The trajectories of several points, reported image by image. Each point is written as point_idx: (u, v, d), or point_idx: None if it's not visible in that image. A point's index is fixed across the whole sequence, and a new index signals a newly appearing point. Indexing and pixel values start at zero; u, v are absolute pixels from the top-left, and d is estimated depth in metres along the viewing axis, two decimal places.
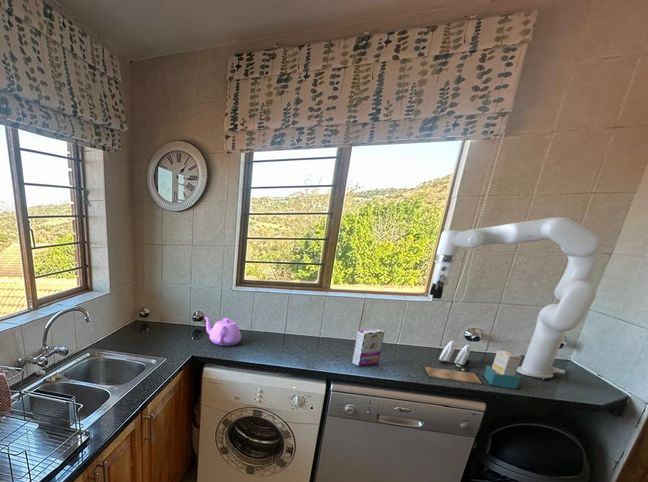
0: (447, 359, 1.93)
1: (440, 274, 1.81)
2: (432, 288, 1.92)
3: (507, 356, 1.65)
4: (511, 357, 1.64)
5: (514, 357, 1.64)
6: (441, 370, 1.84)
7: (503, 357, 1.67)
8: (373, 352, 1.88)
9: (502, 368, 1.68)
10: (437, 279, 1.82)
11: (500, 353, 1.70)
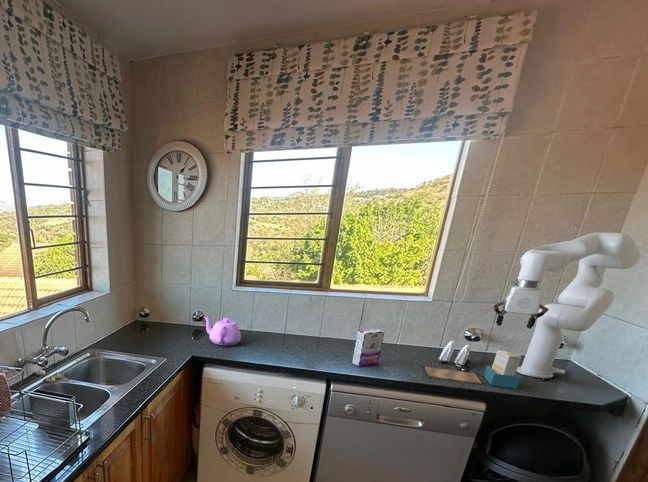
0: (447, 359, 1.93)
1: (506, 299, 1.64)
2: (529, 319, 1.63)
3: (507, 356, 1.65)
4: (511, 357, 1.64)
5: (514, 357, 1.64)
6: (441, 370, 1.84)
7: (503, 357, 1.67)
8: (373, 352, 1.88)
9: (502, 368, 1.68)
10: None
11: (500, 353, 1.70)
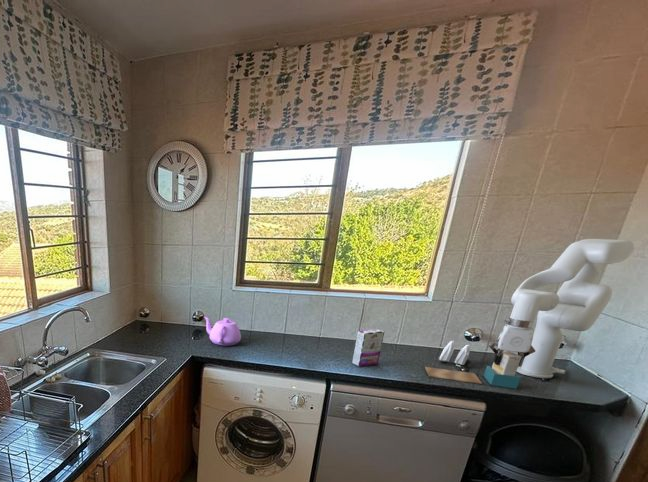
0: (447, 359, 1.93)
1: (499, 336, 1.68)
2: None
3: (507, 356, 1.65)
4: (511, 357, 1.64)
5: (514, 357, 1.64)
6: (441, 370, 1.84)
7: (503, 357, 1.67)
8: (373, 352, 1.88)
9: (502, 368, 1.68)
10: None
11: None
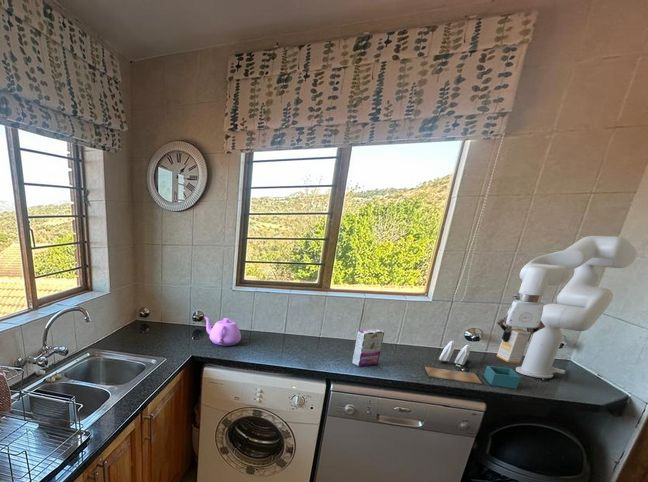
0: (447, 359, 1.93)
1: (507, 312, 1.64)
2: None
3: (516, 332, 1.62)
4: (520, 333, 1.61)
5: (523, 333, 1.61)
6: (441, 370, 1.84)
7: (512, 333, 1.64)
8: (373, 352, 1.88)
9: (511, 345, 1.64)
10: None
11: None
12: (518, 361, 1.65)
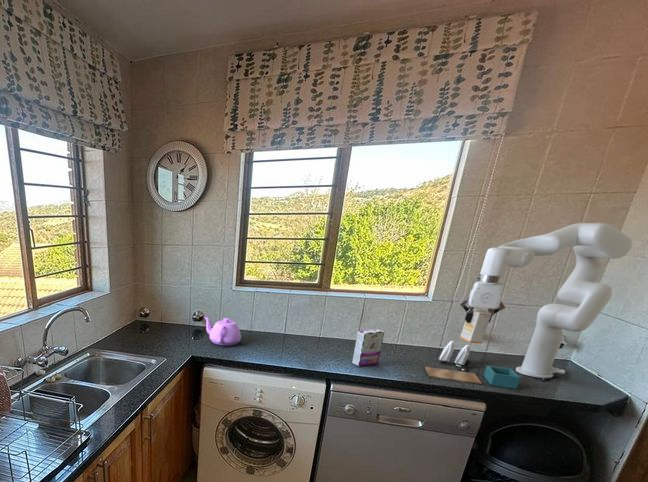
0: (447, 359, 1.93)
1: (470, 293, 1.68)
2: None
3: (477, 313, 1.65)
4: (481, 314, 1.64)
5: (484, 314, 1.64)
6: (441, 370, 1.84)
7: (474, 314, 1.67)
8: (373, 352, 1.88)
9: (472, 326, 1.67)
10: None
11: None
12: (480, 341, 1.68)
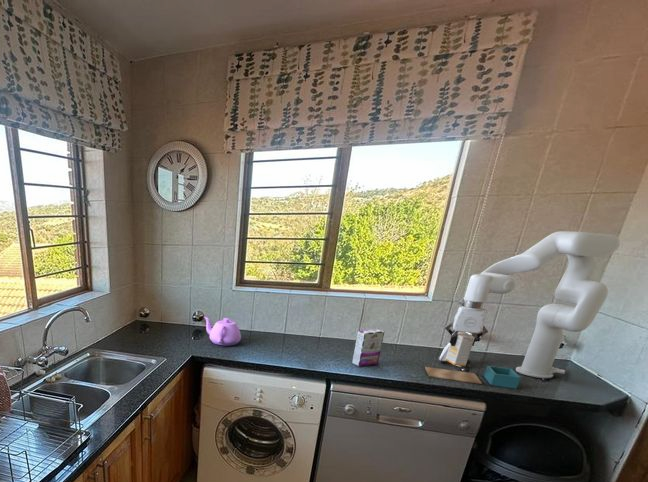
0: None
1: (454, 318, 1.73)
2: None
3: (461, 337, 1.70)
4: (465, 338, 1.69)
5: (468, 338, 1.69)
6: (441, 370, 1.84)
7: (458, 338, 1.72)
8: (373, 352, 1.88)
9: (457, 349, 1.72)
10: None
11: None
12: (464, 364, 1.73)
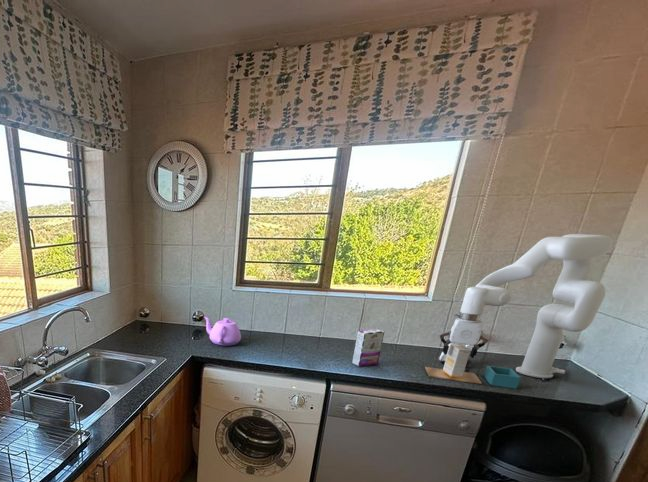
0: None
1: (451, 329, 1.75)
2: (472, 349, 1.74)
3: (457, 349, 1.72)
4: (461, 350, 1.71)
5: (464, 350, 1.71)
6: (441, 370, 1.84)
7: (454, 350, 1.74)
8: (373, 352, 1.88)
9: (453, 361, 1.74)
10: None
11: (452, 346, 1.76)
12: (460, 376, 1.75)
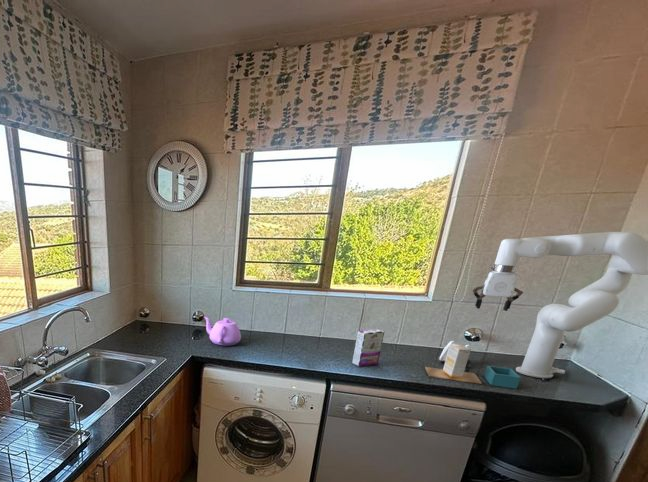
0: None
1: (484, 283, 1.75)
2: (505, 302, 1.74)
3: (457, 349, 1.72)
4: (461, 350, 1.71)
5: (464, 350, 1.71)
6: (441, 370, 1.84)
7: (454, 350, 1.74)
8: (373, 352, 1.88)
9: (453, 361, 1.74)
10: None
11: (452, 346, 1.76)
12: (460, 376, 1.75)
